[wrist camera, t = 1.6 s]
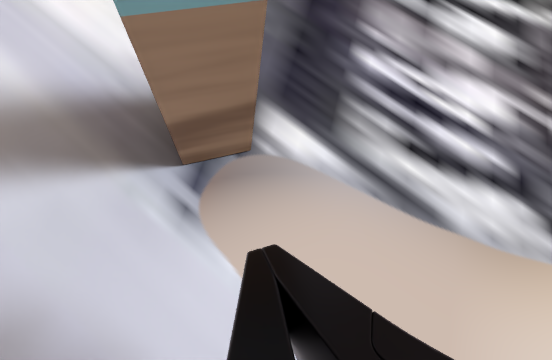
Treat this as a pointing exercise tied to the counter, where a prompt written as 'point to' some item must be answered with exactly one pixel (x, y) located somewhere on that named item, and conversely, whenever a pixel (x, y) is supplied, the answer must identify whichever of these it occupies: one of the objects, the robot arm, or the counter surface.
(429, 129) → the counter surface
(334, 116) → the counter surface
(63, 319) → the counter surface
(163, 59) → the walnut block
